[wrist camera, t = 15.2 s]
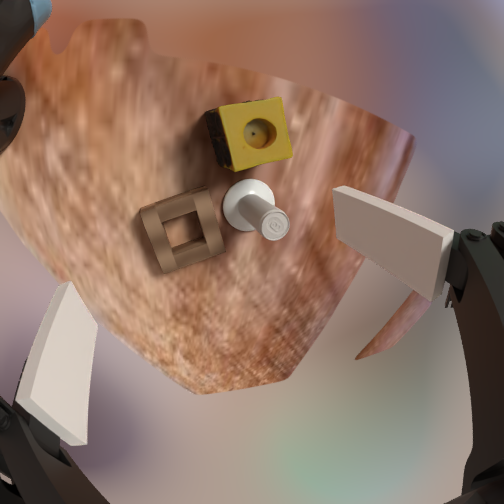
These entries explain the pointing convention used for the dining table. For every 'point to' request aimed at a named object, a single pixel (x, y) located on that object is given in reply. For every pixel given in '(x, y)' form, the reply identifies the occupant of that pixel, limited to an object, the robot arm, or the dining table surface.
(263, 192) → the white round domed part
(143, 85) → the dining table surface
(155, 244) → the socket block
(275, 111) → the candle
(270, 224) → the beverage can
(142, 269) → the dining table surface
